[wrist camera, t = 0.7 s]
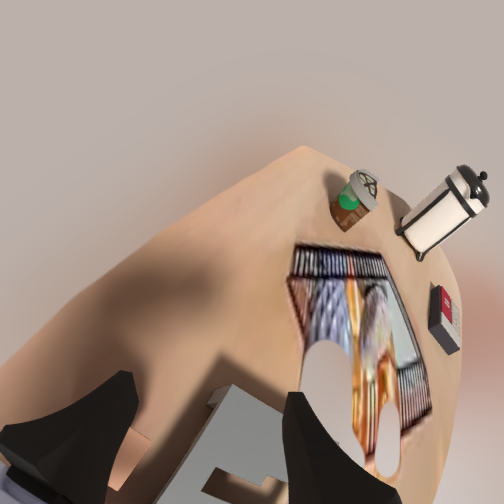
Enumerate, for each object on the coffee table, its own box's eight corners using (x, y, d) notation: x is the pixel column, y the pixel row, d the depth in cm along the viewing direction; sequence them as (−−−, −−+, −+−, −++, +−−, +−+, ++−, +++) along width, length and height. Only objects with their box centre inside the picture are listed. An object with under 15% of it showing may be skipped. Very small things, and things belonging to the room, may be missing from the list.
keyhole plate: (248, 562, 14) (269, 577, 11) (127, 520, 13) (131, 537, 10) (313, 443, 26) (339, 442, 23) (215, 389, 26) (232, 383, 23)
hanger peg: (116, 471, 17) (117, 491, 11) (71, 438, 16) (56, 446, 11) (142, 434, 20) (152, 442, 15) (99, 402, 20) (92, 397, 14)
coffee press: (432, 269, 67) (509, 208, 45) (402, 254, 61) (491, 178, 40) (414, 224, 77) (479, 165, 56) (384, 204, 72) (455, 134, 50)
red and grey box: (460, 309, 58) (462, 349, 47) (448, 316, 61) (448, 356, 50) (441, 282, 58) (442, 321, 47) (428, 291, 61) (427, 329, 50)
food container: (330, 189, 60) (358, 159, 53) (351, 206, 60) (379, 178, 53) (319, 216, 52) (353, 181, 44) (343, 236, 52) (378, 204, 45)
